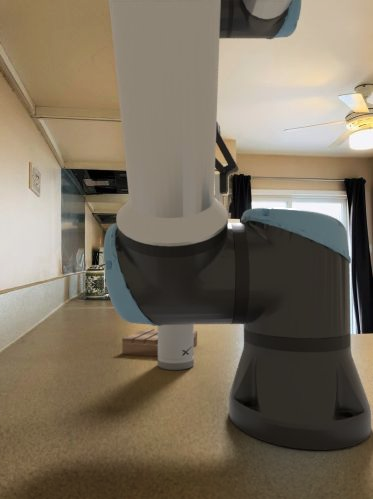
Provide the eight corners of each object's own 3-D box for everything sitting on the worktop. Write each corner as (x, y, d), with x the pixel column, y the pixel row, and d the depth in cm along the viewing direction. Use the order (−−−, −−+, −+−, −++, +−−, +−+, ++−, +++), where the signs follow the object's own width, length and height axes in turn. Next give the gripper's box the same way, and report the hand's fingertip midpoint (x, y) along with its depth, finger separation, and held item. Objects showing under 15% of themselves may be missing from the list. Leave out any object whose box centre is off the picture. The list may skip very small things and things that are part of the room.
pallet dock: (180, 358, 68) (180, 341, 69) (122, 353, 72) (122, 338, 72) (197, 344, 80) (197, 330, 80) (146, 341, 83) (146, 328, 84)
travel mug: (196, 370, 60) (195, 249, 61) (156, 370, 60) (156, 249, 61) (195, 360, 67) (194, 251, 67) (158, 360, 66) (158, 251, 67)
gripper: (252, 99, 67) (254, 214, 66) (130, 117, 75) (129, 220, 74) (246, 79, 60) (248, 207, 59) (111, 101, 68) (110, 215, 66)
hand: (182, 214), depth 66 cm, fingers open, 13 cm apart
